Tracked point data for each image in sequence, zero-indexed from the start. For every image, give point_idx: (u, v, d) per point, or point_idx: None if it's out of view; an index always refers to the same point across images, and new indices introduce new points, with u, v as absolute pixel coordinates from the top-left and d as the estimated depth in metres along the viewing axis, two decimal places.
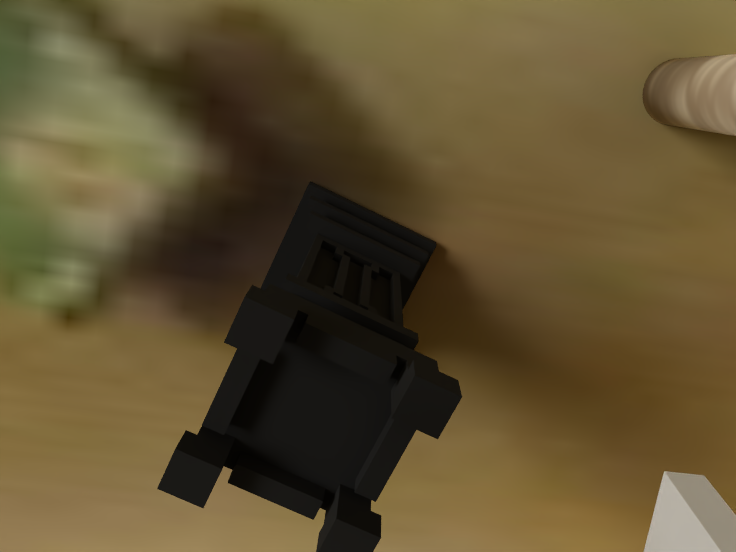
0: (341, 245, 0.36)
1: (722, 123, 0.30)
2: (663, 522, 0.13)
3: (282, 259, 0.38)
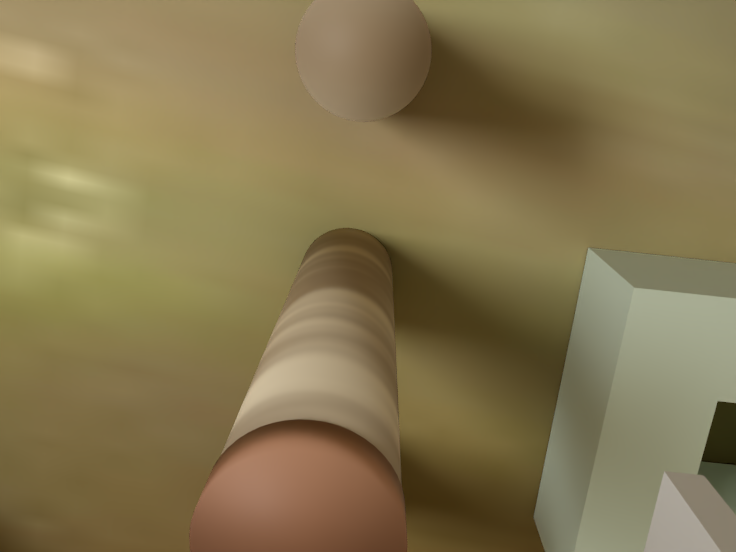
0: None
1: None
2: (663, 522, 0.13)
3: None
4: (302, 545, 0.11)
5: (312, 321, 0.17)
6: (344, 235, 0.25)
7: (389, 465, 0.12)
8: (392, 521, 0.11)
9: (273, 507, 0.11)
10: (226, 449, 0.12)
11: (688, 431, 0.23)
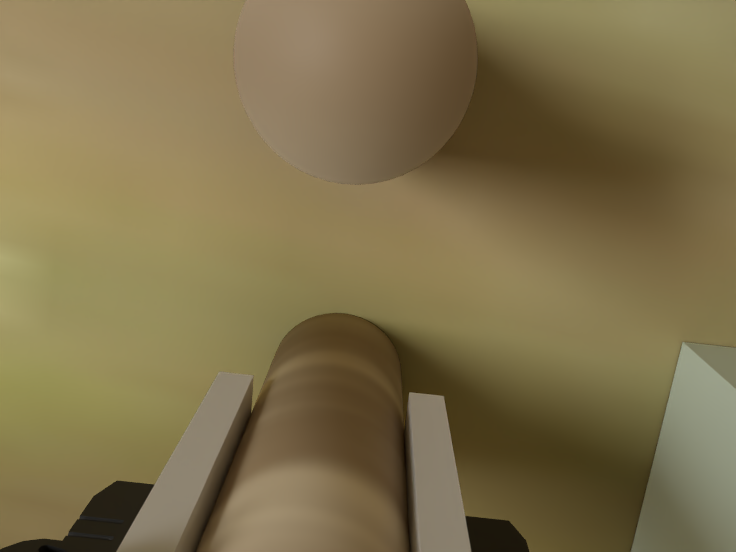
0: None
1: None
2: (405, 434, 0.15)
3: None
4: None
5: None
6: (332, 329, 0.17)
7: None
8: None
9: None
10: None
11: None
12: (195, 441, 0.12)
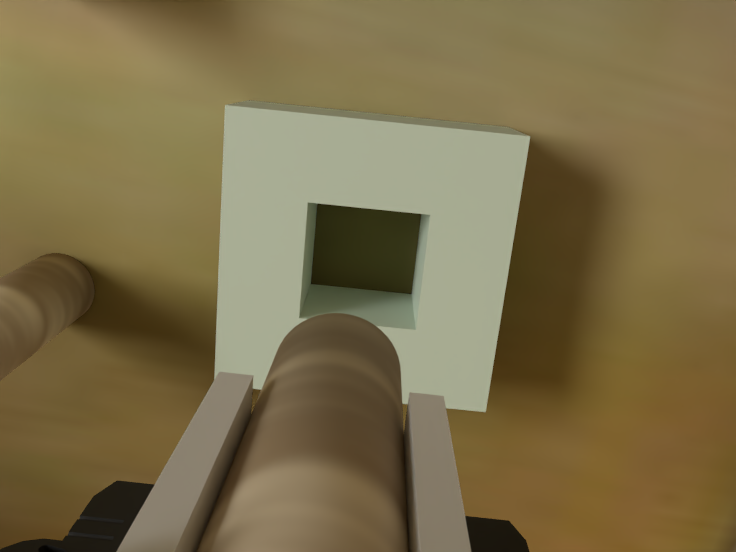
0: None
1: None
2: (405, 434, 0.15)
3: None
4: None
5: None
6: (332, 328, 0.17)
7: None
8: None
9: None
10: None
11: (289, 229, 0.28)
12: (195, 441, 0.12)
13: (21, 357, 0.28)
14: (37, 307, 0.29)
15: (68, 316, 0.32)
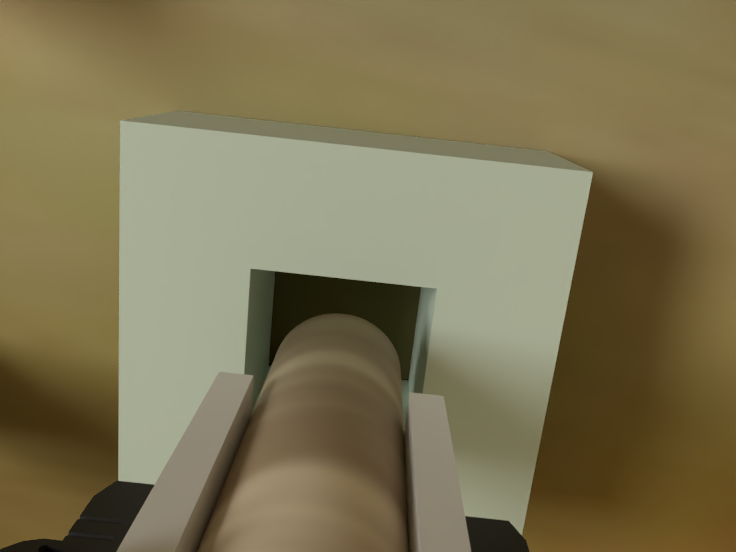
0: None
1: None
2: (405, 434, 0.15)
3: None
4: None
5: None
6: (332, 328, 0.17)
7: None
8: None
9: None
10: None
11: (223, 307, 0.19)
12: (195, 441, 0.12)
13: None
14: None
15: None
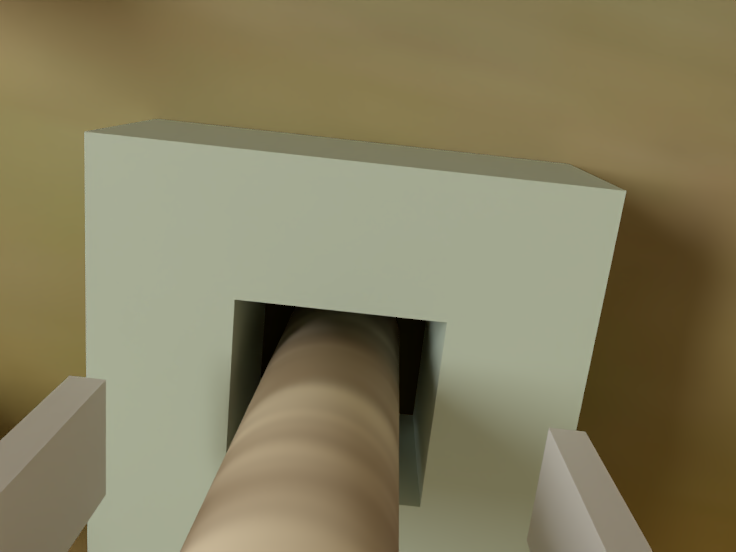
0: None
1: None
2: (546, 473, 0.14)
3: None
4: None
5: (277, 449, 0.12)
6: None
7: None
8: None
9: None
10: None
11: (203, 343, 0.17)
12: (5, 452, 0.11)
13: None
14: None
15: None
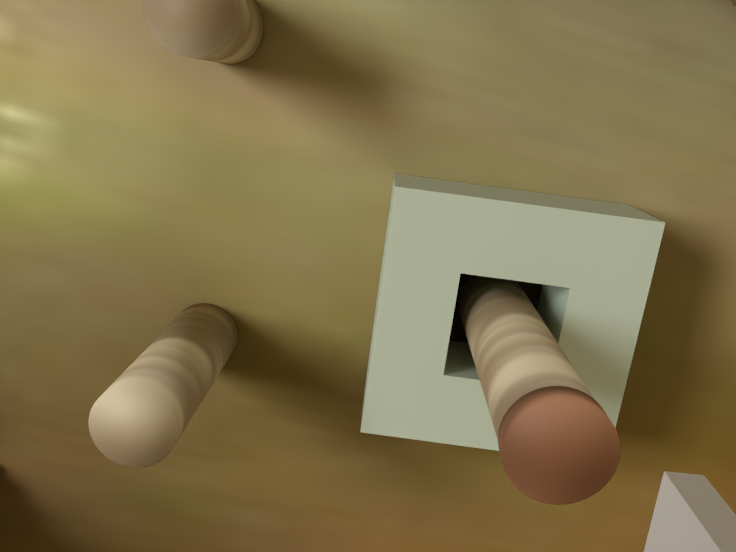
0: None
1: None
2: (663, 522, 0.13)
3: None
4: (564, 452, 0.21)
5: (521, 334, 0.27)
6: None
7: None
8: (613, 440, 0.21)
9: (551, 430, 0.21)
10: (514, 401, 0.22)
11: (441, 296, 0.32)
12: None
13: (199, 404, 0.31)
14: (208, 357, 0.32)
15: (224, 363, 0.35)
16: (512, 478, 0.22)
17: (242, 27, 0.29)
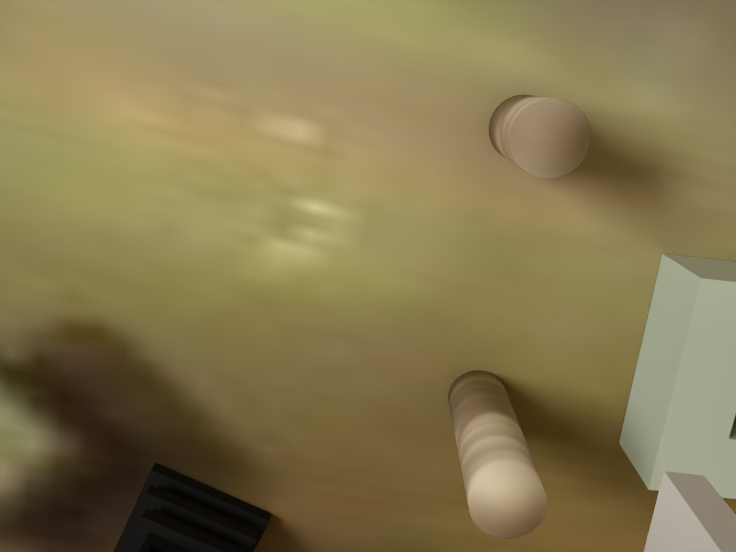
0: (170, 543, 0.40)
1: None
2: (663, 522, 0.13)
3: (125, 540, 0.42)
4: None
5: None
6: None
7: None
8: None
9: None
10: None
11: (734, 371, 0.36)
12: None
13: None
14: (520, 429, 0.36)
15: None
16: None
17: None
